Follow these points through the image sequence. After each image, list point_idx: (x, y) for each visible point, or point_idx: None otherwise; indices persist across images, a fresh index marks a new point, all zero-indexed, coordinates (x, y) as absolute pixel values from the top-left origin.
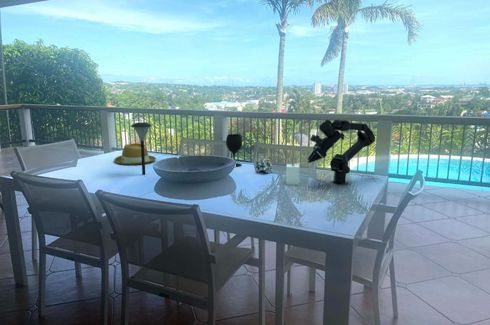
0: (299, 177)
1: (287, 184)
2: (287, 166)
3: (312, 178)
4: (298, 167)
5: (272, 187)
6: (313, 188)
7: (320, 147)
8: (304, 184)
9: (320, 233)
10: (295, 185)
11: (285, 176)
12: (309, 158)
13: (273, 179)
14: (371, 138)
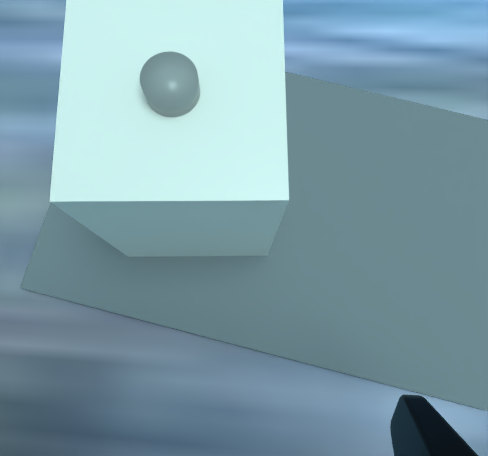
0: (465, 281)
1: None
2: (100, 2)
3: (479, 447)
4: (54, 182)
5: (37, 6)
6: (8, 416)
7: None
8: (146, 320)
9: None
10: None
11: (475, 126)
12: (407, 447)
13: (342, 13)
14: None
